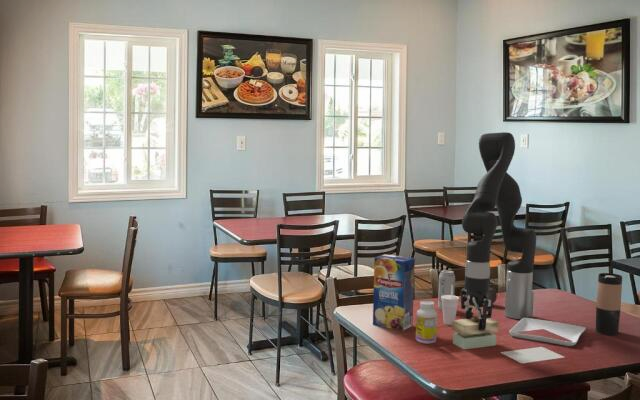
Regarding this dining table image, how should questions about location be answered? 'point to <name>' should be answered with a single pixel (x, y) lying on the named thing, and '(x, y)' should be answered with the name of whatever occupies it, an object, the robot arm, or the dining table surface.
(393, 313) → the juice carton
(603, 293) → the travel mug
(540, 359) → the mat
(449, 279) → the energy drink can
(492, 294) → the perforated stone tool
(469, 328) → the lid
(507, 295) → the robot arm
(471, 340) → the dish
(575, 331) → the salad plate
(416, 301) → the dining table surface
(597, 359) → the dining table surface
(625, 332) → the dining table surface
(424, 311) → the supplement bottle
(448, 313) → the smoothie
